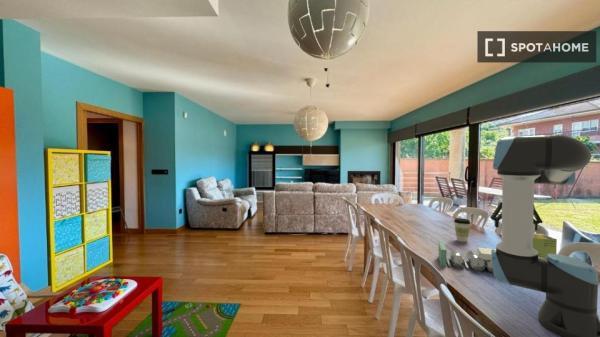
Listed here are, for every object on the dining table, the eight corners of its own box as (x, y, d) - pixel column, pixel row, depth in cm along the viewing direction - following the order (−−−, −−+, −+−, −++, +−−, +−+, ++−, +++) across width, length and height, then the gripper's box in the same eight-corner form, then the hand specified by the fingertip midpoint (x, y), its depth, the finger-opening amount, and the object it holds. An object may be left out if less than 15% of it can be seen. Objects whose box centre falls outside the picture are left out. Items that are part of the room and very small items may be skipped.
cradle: (468, 270, 129) (468, 267, 129) (448, 267, 133) (448, 264, 133) (463, 260, 142) (463, 257, 142) (445, 257, 145) (445, 255, 145)
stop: (446, 266, 133) (446, 250, 133) (441, 266, 134) (441, 249, 134) (443, 257, 146) (443, 242, 146) (438, 257, 147) (438, 241, 147)
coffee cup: (450, 239, 180) (450, 218, 180) (460, 238, 183) (461, 217, 183) (463, 243, 171) (463, 221, 170) (473, 242, 174) (474, 220, 173)
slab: (521, 264, 122) (521, 258, 122) (481, 259, 128) (482, 253, 128) (514, 257, 131) (514, 251, 131) (477, 252, 137) (477, 247, 137)
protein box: (556, 268, 130) (557, 239, 130) (522, 266, 134) (523, 237, 133) (541, 261, 141) (542, 233, 140) (510, 258, 144) (510, 232, 143)
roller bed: (523, 278, 120) (523, 265, 120) (470, 270, 129) (471, 258, 128) (512, 267, 133) (512, 255, 133) (465, 260, 141) (465, 250, 141)
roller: (465, 268, 131) (464, 257, 131) (453, 268, 133) (451, 257, 133) (462, 259, 142) (460, 249, 142) (450, 259, 144) (448, 249, 144)
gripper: (544, 193, 125) (543, 235, 125) (483, 191, 134) (483, 230, 134) (552, 195, 118) (551, 240, 118) (488, 193, 127) (487, 234, 128)
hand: (515, 235), depth 126 cm, fingers open, 13 cm apart
